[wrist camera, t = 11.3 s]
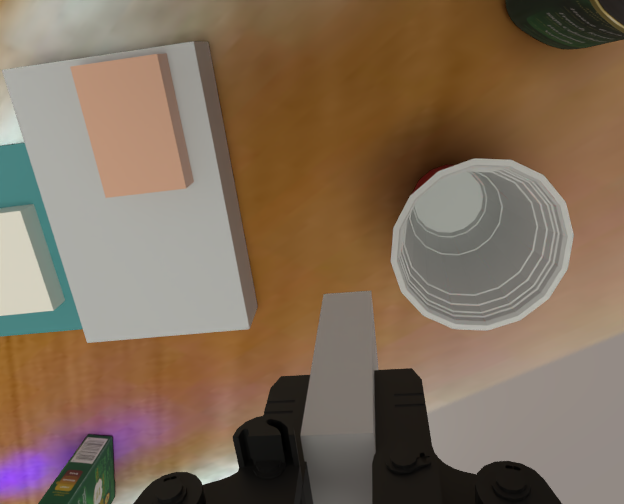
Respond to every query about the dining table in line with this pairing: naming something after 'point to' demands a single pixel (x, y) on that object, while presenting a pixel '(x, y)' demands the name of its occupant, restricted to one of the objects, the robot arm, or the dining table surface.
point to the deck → (140, 210)
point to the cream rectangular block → (26, 264)
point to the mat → (24, 191)
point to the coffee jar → (569, 21)
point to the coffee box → (86, 475)
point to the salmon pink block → (134, 125)
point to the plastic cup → (481, 243)
